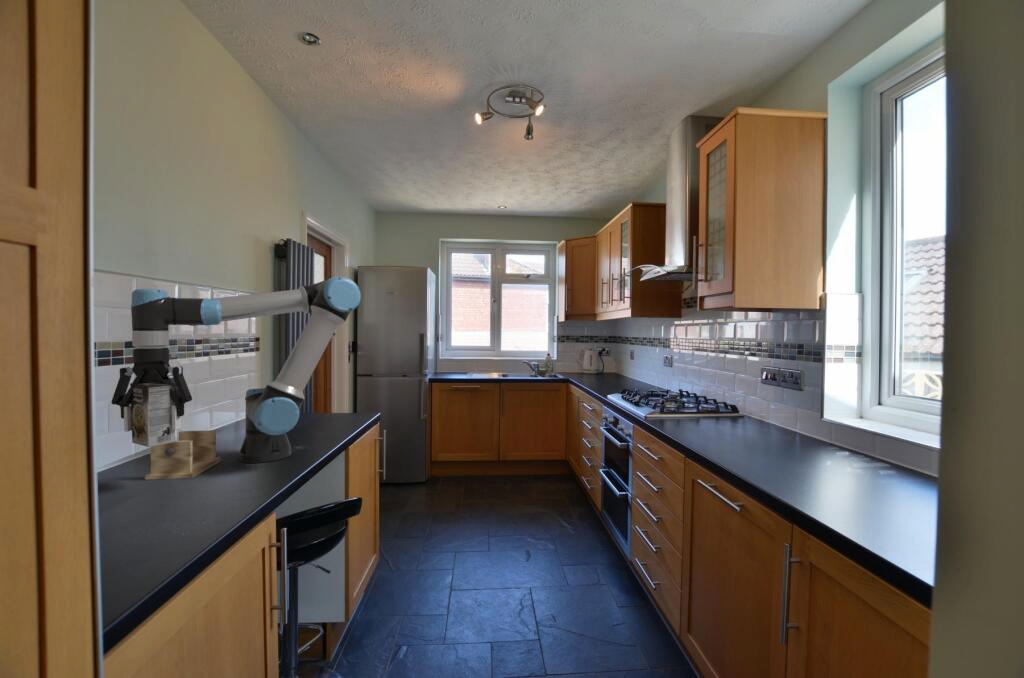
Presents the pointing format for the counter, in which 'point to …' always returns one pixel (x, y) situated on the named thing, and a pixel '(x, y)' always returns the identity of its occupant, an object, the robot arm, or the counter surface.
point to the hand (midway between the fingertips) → (153, 429)
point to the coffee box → (152, 414)
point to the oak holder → (184, 456)
